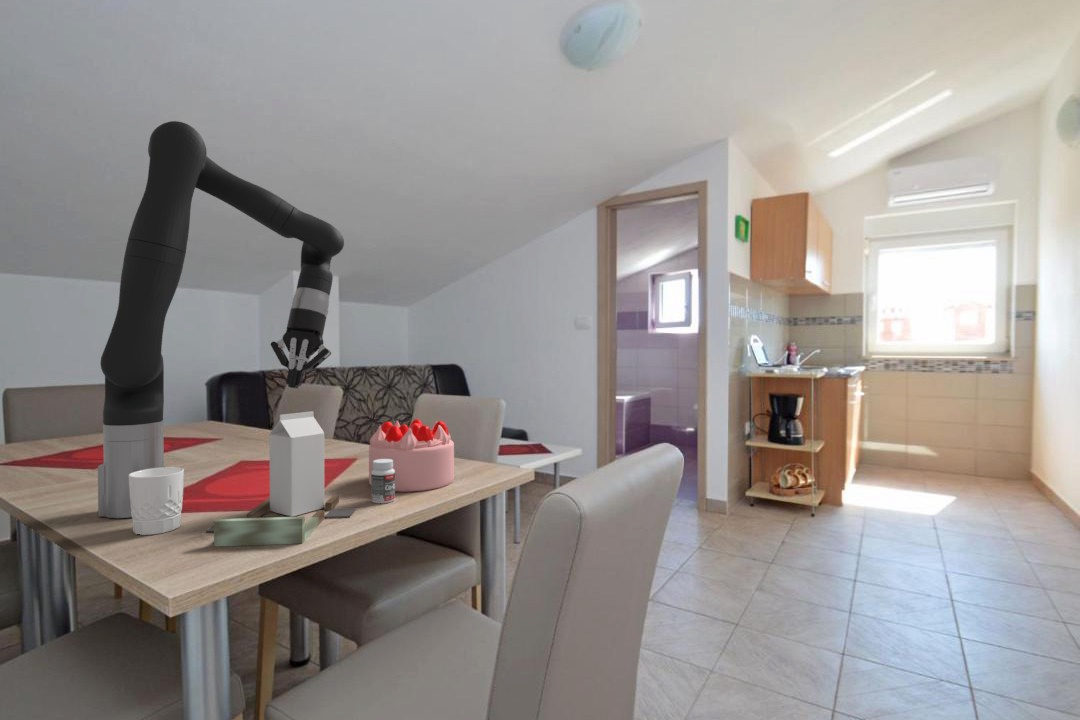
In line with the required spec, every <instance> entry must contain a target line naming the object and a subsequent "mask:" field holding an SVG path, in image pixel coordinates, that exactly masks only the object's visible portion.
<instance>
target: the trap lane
mask: <svg viewBox="0 0 1080 720" xmlns="http://www.w3.org/2000/svg"><path fill="white" fill-rule="evenodd" d="M339 498H340V495H338V494H336V495H331V497H330V498H328V500H327V501H325V502H324V509H325V510H322V509H319V510H316V512H314V514H312V516H310V518H309V519H308V520H307V521H305V518H306V517H305V516H293V517H291V516H278V517H277V516H276V517H275V516H274V517H273V516H272V517H262V516H263V515H265V514H266V513H267V512H268V511H270V496H269V497H268V498H266V499H265V500H264V501H262V502H261V503H260V504H259V505H257V506H255V507H254V508H253V509H251V510H250V511H248V512H247V513H246V514H245V517H244V518H243V517H242V518H240V517H239V518H219V519H218V518H217V519H216V520H215V521H213V526H214V532H213V540H214V543H213V546H214V547H236V546H237V547H238V546H242V545H243V546H264V545H265V546H266V545H269V546H270V545H291V544H292V545H293V544H303V543H304V542H305V541H306V540H307V539H308V538H309V537H310V535H312V533H313V532H314V531H315V529H317V528H318V527H319V525H320V524H321V523H322V522H323V521H324V520H325V519H326V518H325V516H326V514H325V513H326V512H325V511H328V512H329V511H330V510H331V509H335V508H336V506H337V505H338V504H339V501H340V499H339Z"/></svg>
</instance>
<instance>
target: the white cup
mask: <svg viewBox="0 0 1080 720" xmlns="http://www.w3.org/2000/svg"><path fill="white" fill-rule="evenodd" d="M184 474H185V469H184V468H182V467H177V466H165V467H162V468H152V469H145V470H140V471H136V472H133V473H130V474H129V475H128V477H129V491H130V505H131V515H132V517H131V519H132V533H134V534H135V535H137V534H140V535H139V536H151V535H153V536H154V535H158V534H165V533H168V532H171V531H174V530H176V529H178V528H180V526H181V524H182V511H183V500H184V499H183V498H184V477H185V475H184Z"/></svg>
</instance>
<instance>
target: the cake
mask: <svg viewBox="0 0 1080 720" xmlns="http://www.w3.org/2000/svg"><path fill="white" fill-rule="evenodd" d="M369 443H370V445H369V446H368V481H369V482H368V484H369V485H370V486H371V472H372V470H374V468H373V461H374V460H378V459H392V460H393V467H392V468H393V469H394V470H395V493H397V492H400V493H401V492H403V493H407V492H408V493H410V492H422V491H423V492H424V491H429V490H436V489H440V488H443V487H446V486H448V485H450V484H451V483H452V482H453V480H455V479H454V478H455V442H454V441H453V440H452V439H451V434H450V431H449V429H448V427H447V424H446V423H445V422H444V421H441V420H439V421H438V420H436V421H435V422H434V424H433V426H432V428H431V429H430V426H428V425H426V424H423V422H422V420H420V419H418V418H416V419H413V420H412V421H411V423H410V424H409V427H408V425H407V424H400V422H399V420H396V422H395V423H394V425H393V423H392V422H391V421H385V422H383V423H382V424H381V425H379V426H378V429H377V430H376V431H375V432H374V433H373V435H371V436H370V438H369Z"/></svg>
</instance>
